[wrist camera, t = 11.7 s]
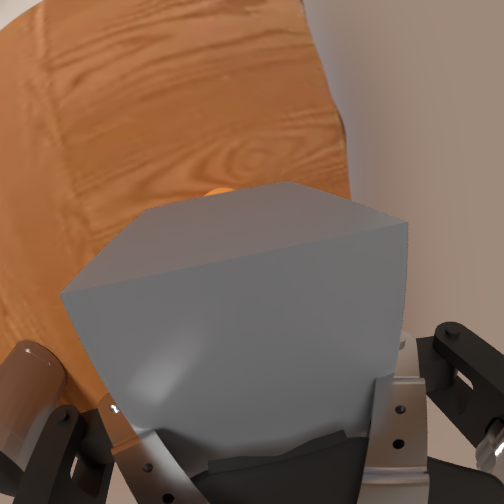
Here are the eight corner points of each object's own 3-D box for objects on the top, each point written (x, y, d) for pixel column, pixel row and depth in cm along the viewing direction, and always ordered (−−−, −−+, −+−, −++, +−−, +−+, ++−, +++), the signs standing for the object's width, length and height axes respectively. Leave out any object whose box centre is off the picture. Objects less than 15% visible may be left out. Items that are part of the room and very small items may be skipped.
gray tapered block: (308, 354, 17) (368, 471, 9) (197, 378, 16) (203, 510, 8) (289, 180, 13) (407, 221, 5) (145, 209, 13) (59, 293, 5)
